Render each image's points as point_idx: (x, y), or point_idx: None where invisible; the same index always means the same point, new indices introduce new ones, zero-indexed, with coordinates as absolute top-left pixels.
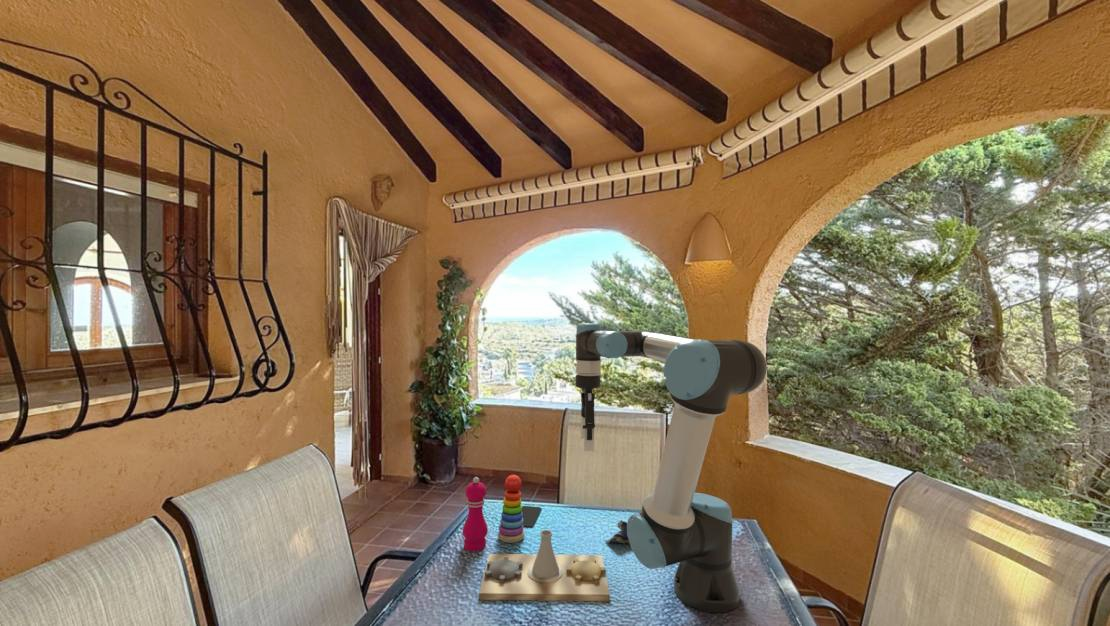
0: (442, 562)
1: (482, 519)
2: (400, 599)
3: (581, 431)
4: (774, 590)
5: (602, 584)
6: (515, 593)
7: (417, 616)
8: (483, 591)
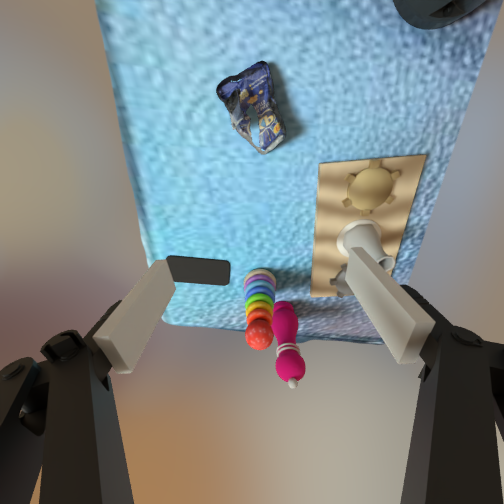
0: (313, 326)
1: (290, 328)
2: (368, 338)
3: (164, 310)
4: None
5: (400, 165)
6: None
7: None
8: None
